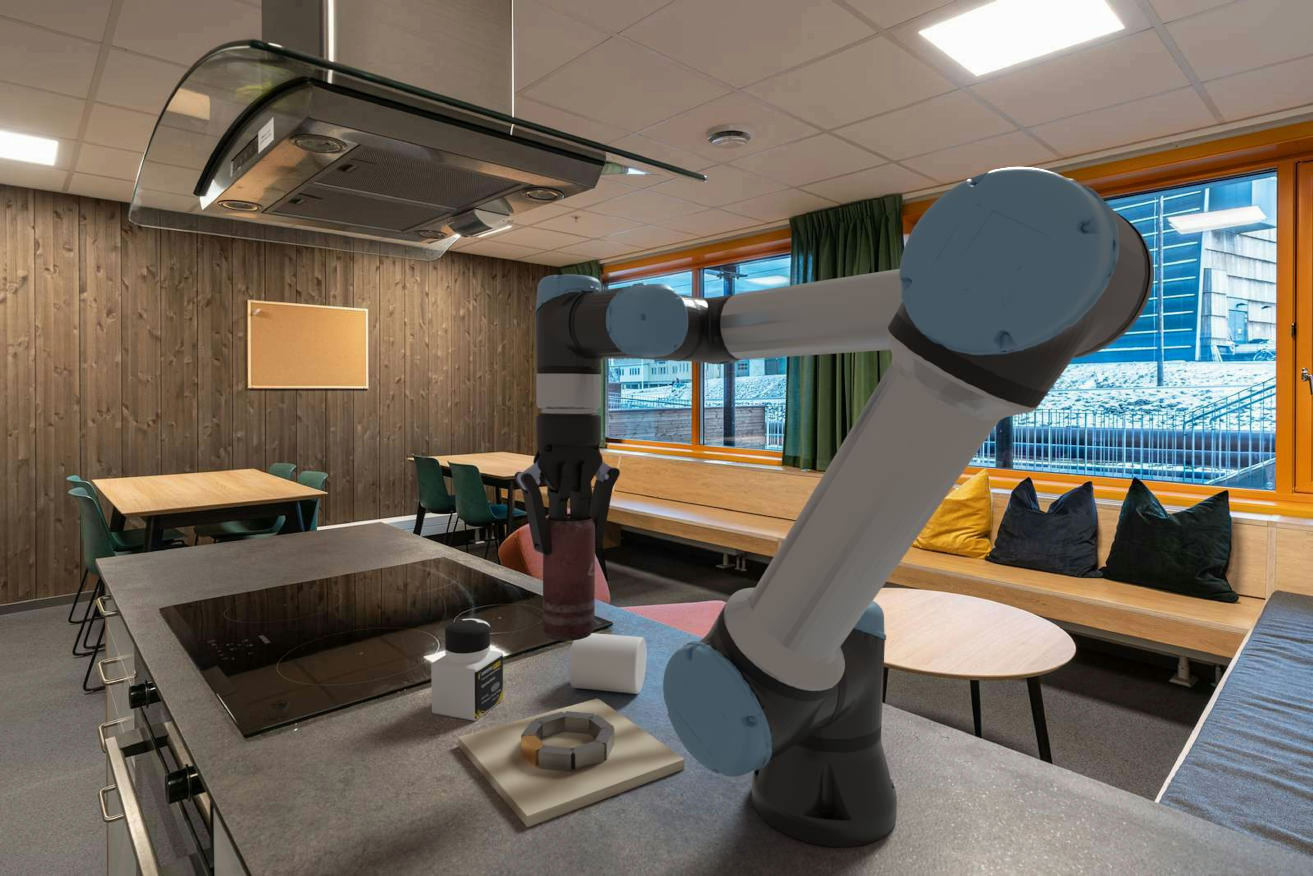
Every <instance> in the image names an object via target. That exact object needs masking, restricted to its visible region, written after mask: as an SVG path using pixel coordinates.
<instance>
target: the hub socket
mask: <svg viewBox="0 0 1313 876" xmlns="http://www.w3.org/2000/svg"><path fill="white" fill-rule="evenodd" d="M563 732H571V733H581V734H589V735H591V736H592V737H593V738H594V739H596V740H595V741H592V742H589V743H586V744H583V745H580V746H577V747H573V748H566V747H556V746H546V745H545V744H544V743H543V742H541V740H542V739H543V738H546V737H550V736H553V735H557V734H560V733H563ZM613 746H614V726H613V725H611V724H610V723H609V722H607V721H606V720H605V719H603V718H602V717H600V716H599V715H595V714H593V713H582V712H571V711H566V712H565V713H563V712H558V713H555V714H551V715H547V716H544V717H540V718H537V719H535V721H531V723H530V724H529V725H528V726H527V728H526V729H525V730H524V732H523V733H522V734H521V754H522V755H523V756H524V757H525V758H526V759H527V760H528V761H529V762H530V763H531V764H532V765H533V766H534V767H538V766H539V769H547V770H557V771H566V772H571V771H572V769H573V770H574V771H578V770H581V769H584V768H587V767H590V766H593V765H596V764H599V763H602V762H604V760H607V759H608V756H609V754H610V752H611V750H612V748H613Z"/></svg>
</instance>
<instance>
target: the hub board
mask: <svg viewBox="0 0 1313 876" xmlns="http://www.w3.org/2000/svg"><path fill="white" fill-rule="evenodd" d="M566 711H571V712H582V713H593V714H595V715H599V716H600V717H602V718H603V719H605V720H606V721H607V722H609V723H610V724H611V725H613V726H614V746H613V748H612V750H611V752H610V754H609V756H608V759H607V760H604V762H602V763H599V764H596V765H593V766H590V767H587V768H584V769H581V770H578V771H574V770H573V769H572V771H571V772H566V771H557V770H547V769H539V766H538V767H534V766H533V765H532V764H531V763H530V762H529V761H528V760H527V759H526V758H525V757H524V756H523V755H522V754H521V734H522V733H523V732H524V730H525V729H526V728H527V726H528V725H529V724H530V723H531V721H535V719H537V718H540V717H544V716H547V715H551V714H555V713H558V712H563V713H565V712H566ZM457 740H458V741H457V742H458V743H457V745H458V748H459V749H460V750H461V752H462V753H463V754H464V755H465V756H466V757H467V758H468V760H469V761H470V762H471V763H472V764H473V765H474V767H476V769H477V770H478V771H479V772H480V774H481V775H482V776H483V777H484V778H485V780H486V781H487V783H489V784H490V786H491V787H492V788H493V790H495V791H496V793H497V794H498V795H499V796H500V797H501V798H502V799H503V801H504V802H505V803H506V804H507V806H508V807H509V808H510V809H511V811H513V813H515V815H516V817H518V818H519V820H520V821H521V822H522V823H523V824H524V825H525V827H527V828H530V827H533V826H536V825H538V824H540V823H544V822H546V821H549V820H551V819H553V818H556V817H559V816H562V815H564V814H568V813H569V812H573V811H575V810H577V809H578V810H579V809H581V808H583V807H587V806H589V805H591V804H594V803H597V802H599V801H602V800H605V799H607V798H610V797H613V796H616V795H618V794H621V793H624V792H626V791H629V790H632V789H634V788H637V787H641V786H642V785H645V784H648V783H650V782H652V781H653V782H654V781H656V780H658V779H661V778H662V779H663V778H664V777H667V776H669V775H672V774H675V773H678V772H680V771H683V770H685V764H686V763H685V758H684V757H682V756H681V755H680V754H678V753H676V752H675V751H674V750H672V749H671V748H669V747H668V746H666V745H665V744H664V743H663V742H661V741H660V740H658V739H657V738H655V737H654V736H652V735H651V734H650V733H648V732H646V731H645V730H644V729H642V728H641V727H639V726H638V725H637V724H636V723H634V722H632V721H631V720H630V719H628V718H627V717H625V716H624V715H623V714H621V713H619V712H618V711H617V710H615V709H614V708H613V707H611V706H610V705H608V704H606V703H605V702H604V701H602V700H601V699H599V697H598V698H595V699H590V700H586V701H584V702H583V701H582V702H579V703H575V704H573V705H569V706H565V707H561V708H557V709H554V710H551V711H547V712H544V713H540V714H537V715H532V716H529V717H525V718H522V719H518V720H517V719H516V720H514V721H511V722H507V723H503V724H500V725H499V724H498V725H497V726H492V727H489V728H486V729H482V730H478V731H475V732H471V733H467V734H463V735H460V736H457ZM595 740H596V739H594V738H593V737H592V736H591V735H589V734H581V733H571V732H563V733H560V734H557V735H553V736H550V737H546V738H543V739H542V740H541V742H543V743H544V744H545V745H546V746H556V747H566V748H573V747H577V746H580V745H583V744H586V743H589V742H592V741H595Z"/></svg>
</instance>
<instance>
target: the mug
mask: <svg viewBox="0 0 1313 876" xmlns="http://www.w3.org/2000/svg"><path fill="white" fill-rule="evenodd" d="M647 651H648V650H647V643H646V640H645V637H643V636H632V635H631V636H630V635H620V634H619V635H618V634H606V633H594V632H592V634H591V635H590V636H588V637H586V638H583V639H580V640H573V641H572V644H571V646H570V652H569V657H568V680H569V684H570V686H571V687H572V688H574V689H581V690H582V689H585V690H592V691H603V692H604V691H605V692H614V693H623V694H625V693H626V694H634V695H638V694H640V692H641V691H642V689H643V686H644V682H645V678H646V672H647V671H646V670H647V656H648V655H647V653H648V652H647Z"/></svg>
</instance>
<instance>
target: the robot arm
mask: <svg viewBox="0 0 1313 876" xmlns="http://www.w3.org/2000/svg"><path fill="white" fill-rule="evenodd" d="M907 238H908V239H906V240H907V241H906V243H905V245H904V247H903V251H902V255H901V259H900V263H899V264H900V265H899V268H898V269H897V268H896V269H890V270H882V271H877V272H871V273H870V272H869V273H866V274H865V273H864V274H857V275H851V276H846V277H845V276H844V277H837V278H831V279H824V280H817V281H810V282H805V283H798V284H791V285H786V286H785V285H784V286H779V287H778V286H777V287H771V288H767V289H766V288H765V289H758V290H752V291H745V292H739V293H738V292H737V293H735V294H726V295H722V296H720V295H719V296H713V297H701V296H700V297H699V296H691V295H686V294H680V293H677V292H676V291H675V290H674V289H673V288H672V287H671V286H670V285H668V284H663V283H643V282H639V283H633V284H631V285H627V286H621V287H615V288H608V289H602V283H601V281H600V280H599V279H598V278H597V277H594V276H589V275H583V274H573V273H571V274H569V273H564V274H560V275H559V274H552V275H546V276H544V277H543V278H541V279H540V281H538V283H537V293H536V308H535V311H534V316H535V349H536V350H535V351H536V354H535V355H536V356H535V357H536V358H535V359H536V407H537V408H538V409H541V412H540V413H537V416H536V418H535V419H536V420H535V421H536V423H535V424H536V425H535V426H536V432H535V433H536V434H535V438H536V439H535V440H536V447H537V449H536V453H535V456H534V458H533V464H532V465H530V466H529V467H527V468H526V469H525V470H524V471H517V472H516V473H515V474H514V477H513V478H514V481H515V482H516V484H517V485H518V487H519V489H520V491H521V493H522V496H523V502H524V507H525V511H526V516H527V521H528V525H529V526H528V527H529V530H530V531H529V532H530V536H531V540H532V546H533V550H534V551H535V552H538V553H540V554H542V555H543V554H545V555H549V554H551V552H552V544H551V539H550V534H549V529H548V524H547V519H546V517H548V519H549V520H553V521H564V522H567V514H568V507H569V514H570V519H577V520H579V521H583V520H588V519H589V515H590V516H592V519H593V521H594V523H595V549H600V548H601V547H602V545H603V542H604V536H605V531H606V527H607V526H606V525H607V521H608V515H609V510H610V505H611V500H612V495H613V488H614V486H615V485H616V482H617V481H618V479H619V477H620V475H621V474H620V473H621V471H620V470H619V468H618V467H612V466H610V465H608V464H607V463H605V462H604V459H603V455H602V453H601V451H600V444H601V443H602V416H600V413H597V410H598V409H600V408H601V407H602V375H601V374H602V367H601V366H602V360H604V359H605V360H607V359H612V360H613V359H615V360H616V359H628V360H629V359H634V360H635V359H636V360H649V361H650V360H655V361H656V360H657V361H675V362H682V361H683V362H692V363H693V362H694V363H695V362H696V363H707V364H711V365H728V364H733V363H738V362H739V361H742V360H755V359H756V360H758V359H770V358H771V359H772V358H787V357H788V358H789V357H798V356H800V357H801V356H803V357H804V356H816V355H817V356H818V355H831V354H844V353H845V354H846V353H847V354H848V353H861V352H876V351H890V352H891V361H890V363H889V365H888V368H887V369H886V371H885V373H884V374H883V375H882V377H881V379H880V381H879V382H878V384H877V386H876V387H875V389H874V390H873V392H872V394H871V396H870V397H869V399H868V401H867V402H866V404H865V406H864V407H863V409H862V410H861V412H860V414H859V415H858V417H857V419H856V420H855V422H854V424H853V425H852V427H851V429H850V431H849V432H848V434H847V435H846V437H845V439H844V440H843V442H842V444H841V446H840V447H839V449H838V450H837V452H836V453H835V455H834V457H833V459H832V460H831V461H830V464H829V465H828V467H827V468H826V470H825V472H824V473H823V474H822V477H821V479H820V480H819V482H818V483H817V485H816V486H815V488H814V490H813V491H812V493H811V495H810V496H809V498H808V500H807V501H806V503H805V505H804V506H803V507H802V510H801V512H800V513H799V515H798V516H797V518H796V519H795V521H794V523H793V525H792V526H791V528H790V529H789V531H788V533H787V534H786V536H785V538H784V540H783V541H782V542H781V545H780V546H779V548H778V550H777V551H776V552H775V555H774V556H773V557H772V560H771V561H770V563H769V564H768V565H767V568H766V569H765V571H764V573H763V574H762V576H761V578H760V580H759V581H758V583H757V584H756V586H755V587H747V588H742V589H739V590H737V591H735V592H734V593H733V594H731V595H730V597H729V598H728V599H727V600H726V602H725V604H724V606H723V607H722V609H721V611H720V612H719V614H718V616H717V617H716V619H715V620H714V622H713V625H712V626H711V628H710V630H709V631H708V633H707V634H706V635H705V636H704V637H703V638H702V639H700V640H697V641H694V640H693V641H690V642H687V643H686V644H684V645H683V646H682V647H681V648H679V649H678V650H677V651H675V652H674V653H673V654H672V655H671V657H670V659H669V660H668V662H667V664H666V667H665V669H664V673H663V681H662V686H663V687H662V688H663V691H662V692H663V698H664V704H665V705H666V706H665V707H666V709H667V716H668V719H669V720H670V724H671V726H672V728H673V729H674V732H675V734H676V736H677V738H678V739H679V741H680V742H681V744H682V745H683V747H684V748H685V749H686V751H687V752H688V753H689V754H690V756H692V758H694V760H696V762H698V763H699V764H700V765H701V766H703V767H704V768H706V769H707V770H708V771H711V772H712V773H715V774H721V775H723V776H726V777H729V778H733V777H741V776H744V775H747V774H749V773H751V772H752V771H753V773H752V778H751V802H752V804H753V807H754V809H755V811H756V812H757V814H758V815H759V816H760V817H761V818H762V819H763V820H764V822H766V823H767V824H769V826H771V827H773V828H774V829H776V830H777V831H779V832H781V833H783V834H784V835H787V836H789V837H791V838H794V839H797V840H800V841H803V842H806V843H810V844H814V845H815V844H816V845H821V846H825V847H827V846H828V847H845V848H846V847H856V846H862V845H866V844H870V843H873V842H876V841H878V840H880V839H882V838H884V837H885V836H886V835H888V834H889V833H890V832H891V831H892V830H893V828H894V826H895V825H896V821H897V810H898V809H897V808H898V806H897V805H898V797H897V790H896V787H895V785H894V781H893V780H892V779H891V774H890V770H889V765H888V762H887V759H886V755H885V751H884V747H883V742H882V721H883V718H882V717H883V699H884V697H883V696H884V670H885V669H884V668H885V650H886V648H885V647H886V641H887V635H886V632H885V615H884V610H883V609H882V607H881V606H880V604H878V602H875V601H874V600H875V598H876V597H877V595H878V594H879V593H880V591H881V590H882V588H883V587H884V586H885V584H886V582H887V581H888V579H889V578H890V576H891V575H892V574H893V572H895V570H896V568H897V567H898V565H899V564H900V563H901V561H902V560H903V558H904V556H905V555H906V554H907V553H908V552H909V550H910V548H911V547H912V546H913V544H914V543H915V541H916V540H917V538H918V537H919V535H920V534H921V533H922V531H923V530H924V528H925V527H926V526H927V524H928V523H929V521H930V520H931V519H932V517H933V516H934V514H935V513H936V511H938V508H939V507H940V506H941V505H942V503H943V501H944V500H945V499H946V497H947V496H948V494H949V493H950V491H951V490H952V489H953V487H954V486H955V484H956V483H957V481H958V480H959V479H960V477H961V476H962V474H963V473H964V471H965V470H966V469H967V467H968V466H969V464H970V463H971V462H972V460H973V459H974V457H975V456H976V454H977V453H978V452H979V450H980V448H981V447H982V446H983V445H984V443H985V442H986V440H987V439H988V437H989V436H990V434H991V433H992V432H993V430H994V429H995V427H997V424H998V423H999V422H1000V421H1002V420H1003V419H1005V418H1009V417H1013V416H1017V415H1022V414H1023V415H1024V414H1026V413H1027V414H1028V413H1031V412H1035V411H1036V410H1037V408H1038V407H1039V406H1040V405H1041V403H1042V402H1043V400H1044V399H1045V398H1046V396H1047V395H1048V393H1049V392H1050V391H1051V389H1052V388H1053V387H1054V386H1055V384H1056V383H1057V381H1058V380H1059V379H1060V377H1061V376H1062V375H1063V373H1064V372H1065V370H1066V369H1067V367H1068V366H1069V365H1070V363H1071V362H1072V361H1073V359H1078V358H1083V357H1087V356H1089V355H1092V354H1095V353H1098V352H1099V351H1102V350H1104V349H1105V348H1107V347H1108V346H1110V345H1112V344H1115V342H1117V341H1119V339H1121V338H1122V337H1123V336H1124V335H1125V334H1127V332H1128V331H1129V330H1130V329H1131V328H1133V326H1135V324H1136V323H1137V321H1138V320H1139V318H1140V317H1141V315H1142V314H1143V313H1144V312H1145V309H1146V306H1147V305H1148V302H1149V300H1150V297H1151V295H1152V291H1153V285H1154V281H1155V268H1154V267H1155V266H1154V262H1153V256H1152V252H1151V251H1150V247H1149V246H1148V244H1147V241H1146V240H1145V237H1144V236H1143V235H1142V233H1141V231H1140V230H1139V229H1138V227H1136V226H1135V225H1134V224H1133V223H1132V222H1131V221H1130V220H1128V219H1127V218H1125V217H1124V216H1122V215H1121V214H1119V213H1118V212H1116V211H1115V209H1113V208H1112V207H1111V206H1109V205H1108V204H1107V202H1106V201H1105V200H1104V198H1103V197H1102V196H1100V194H1099V193H1098V192H1097V191H1095V190H1094V189H1092V188H1090V187H1088V186H1085V185H1083V184H1081V183H1080V182H1078V181H1077V180H1076V179H1074V178H1068V177H1066V176H1063V175H1060V174H1058V173H1056V172H1054V171H1053V172H1052V171H1050V170H1046V169H1042V168H1036V167H1027V166H1026V167H1025V166H1013V167H1012V166H1011V167H1004V168H999V169H993V170H990V171H987V172H984V173H980V174H978V175H977V176H974V177H972V178H968V179H966V180H964V181H962V182H960V183H959V184H957V185H955V186H953V187H952V188H951V189H949V190H948V191H946V192H945V193H943V194H942V195H940V197H938V199H937V200H936V201H934V202H933V203H932V204H931V205H930V206H929V208H927V209H926V210H925V212H924V213H923V214H922V216H920V218H919V220H918V221H917V222H916V224H915V225H914V227H913V229H912V230H911V232H910V234H909V236H908V237H907ZM540 477H541V478H542V480H543V481H544V483H545V485H547V486H546V488H547V490H546V495H547V498H548V516H546V510H545V505H544V501H543V496H542V491H541V489H540V487H539V485H540V484H541V479H540ZM594 477H595V478H596V479H595V482H594V486H593V489H592V495H591V483H592V481H593V479H594ZM590 497H591V498H590ZM589 499H591V500H590V503H589ZM568 501H569V503H568ZM589 504H590V506H589Z"/></svg>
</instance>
